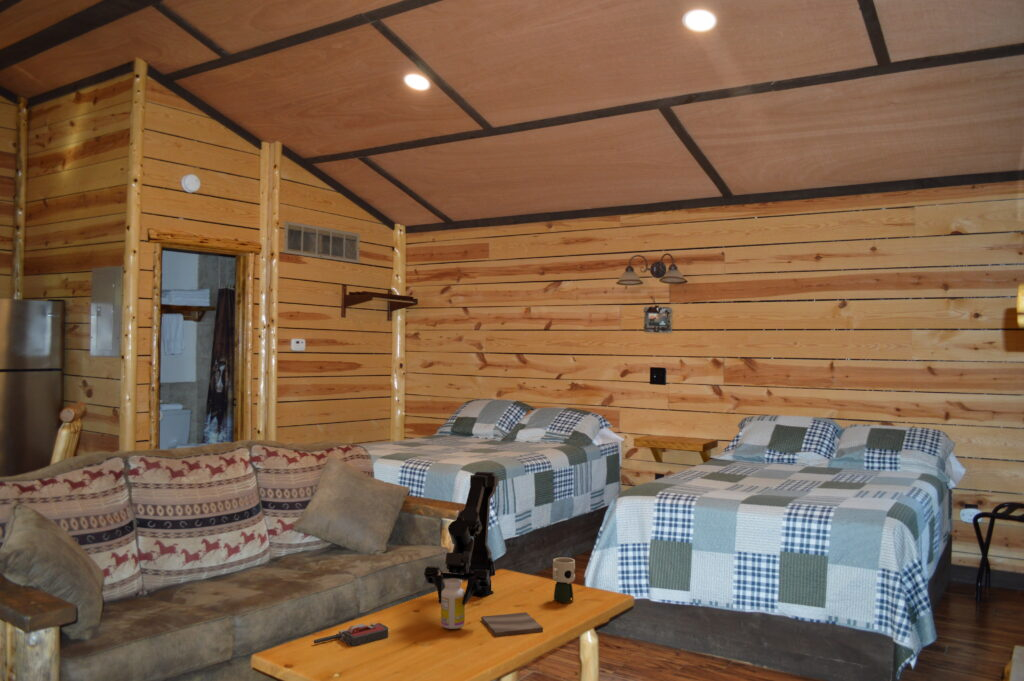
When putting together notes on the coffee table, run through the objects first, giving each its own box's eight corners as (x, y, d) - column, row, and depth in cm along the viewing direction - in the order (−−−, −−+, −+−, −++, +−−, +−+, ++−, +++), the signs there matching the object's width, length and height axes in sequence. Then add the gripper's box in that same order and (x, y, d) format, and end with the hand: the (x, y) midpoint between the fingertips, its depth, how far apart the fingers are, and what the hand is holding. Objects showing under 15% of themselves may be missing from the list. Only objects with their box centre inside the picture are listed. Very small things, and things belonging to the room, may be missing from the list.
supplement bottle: (466, 622, 230) (466, 577, 230) (462, 630, 223) (462, 584, 223) (443, 621, 231) (443, 576, 231) (438, 629, 224) (439, 583, 224)
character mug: (562, 607, 247) (562, 565, 247) (544, 602, 252) (544, 561, 252) (582, 599, 255) (583, 558, 256) (564, 595, 260) (565, 555, 260)
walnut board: (481, 620, 234) (481, 616, 234) (526, 616, 238) (526, 612, 238) (495, 636, 221) (495, 632, 221) (542, 631, 225) (542, 627, 225)
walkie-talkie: (376, 629, 227) (311, 645, 214) (377, 614, 227) (312, 629, 214) (393, 638, 220) (327, 655, 207) (393, 622, 220) (327, 638, 207)
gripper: (426, 538, 233) (413, 587, 222) (488, 542, 229) (479, 592, 218) (433, 558, 240) (422, 606, 230) (494, 562, 237) (485, 611, 226)
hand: (451, 603), depth 226 cm, fingers closed on supplement bottle, 7 cm apart
